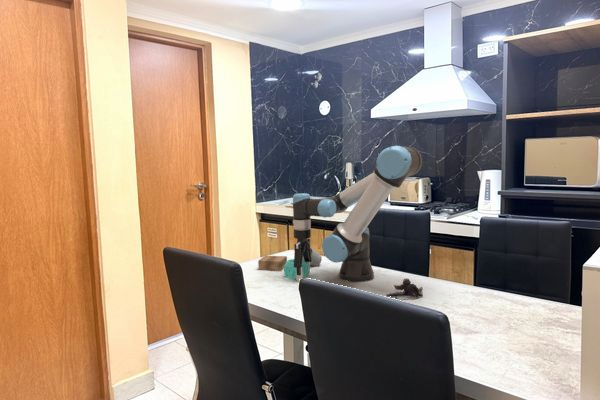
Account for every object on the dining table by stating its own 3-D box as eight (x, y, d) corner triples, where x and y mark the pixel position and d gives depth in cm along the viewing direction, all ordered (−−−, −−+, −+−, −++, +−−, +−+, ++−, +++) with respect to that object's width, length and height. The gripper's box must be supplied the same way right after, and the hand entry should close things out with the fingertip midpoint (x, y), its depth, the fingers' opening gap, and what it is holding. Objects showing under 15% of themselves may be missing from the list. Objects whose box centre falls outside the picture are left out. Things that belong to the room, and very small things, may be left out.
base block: (287, 268, 212) (286, 256, 211) (280, 274, 201) (280, 261, 201) (265, 267, 214) (265, 255, 214) (258, 273, 204) (258, 260, 203)
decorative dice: (295, 275, 197) (294, 258, 197) (308, 277, 192) (308, 260, 192) (283, 279, 191) (283, 261, 191) (297, 281, 186) (296, 263, 186)
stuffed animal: (430, 289, 164) (415, 278, 157) (422, 313, 162) (407, 303, 154) (405, 283, 173) (389, 272, 166) (397, 306, 170) (381, 295, 163)
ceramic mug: (316, 270, 211) (325, 258, 210) (305, 264, 206) (314, 252, 205) (306, 259, 219) (315, 247, 219) (295, 253, 214) (305, 241, 214)
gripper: (302, 224, 199) (303, 272, 201) (284, 232, 179) (286, 285, 181) (317, 225, 196) (318, 273, 198) (301, 233, 176) (303, 286, 178)
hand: (303, 279), depth 190 cm, fingers open, 9 cm apart
